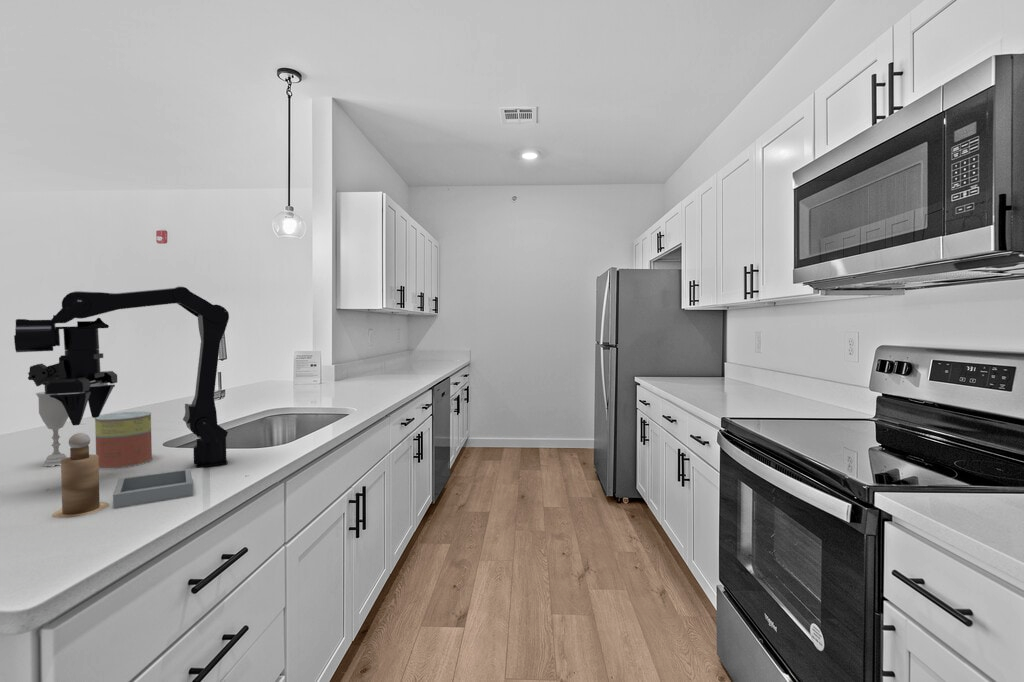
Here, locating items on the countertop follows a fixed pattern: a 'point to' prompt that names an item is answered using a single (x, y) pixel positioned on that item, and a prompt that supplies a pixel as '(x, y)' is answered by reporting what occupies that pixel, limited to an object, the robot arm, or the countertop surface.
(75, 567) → the countertop surface
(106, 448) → the canned food
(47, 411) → the chalice
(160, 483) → the tray
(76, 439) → the pepper mill
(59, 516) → the coaster
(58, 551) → the countertop surface
